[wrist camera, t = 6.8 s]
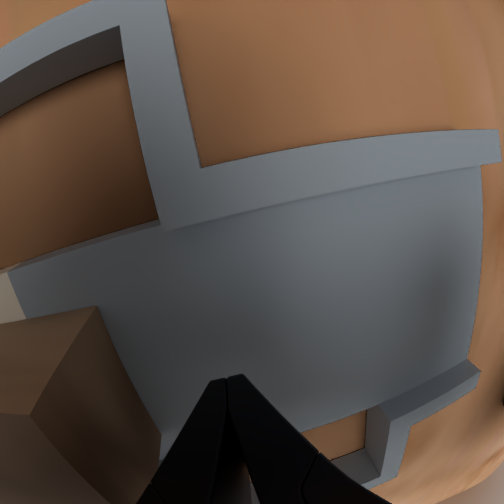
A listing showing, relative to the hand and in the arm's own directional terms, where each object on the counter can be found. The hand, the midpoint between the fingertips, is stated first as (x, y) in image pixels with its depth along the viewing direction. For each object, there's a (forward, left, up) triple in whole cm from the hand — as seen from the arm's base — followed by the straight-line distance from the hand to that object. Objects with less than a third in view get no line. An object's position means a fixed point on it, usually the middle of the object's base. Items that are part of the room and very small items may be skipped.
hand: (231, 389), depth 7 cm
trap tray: (0, 0, -2) cm, 2 cm away
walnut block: (0, +6, -1) cm, 6 cm away
